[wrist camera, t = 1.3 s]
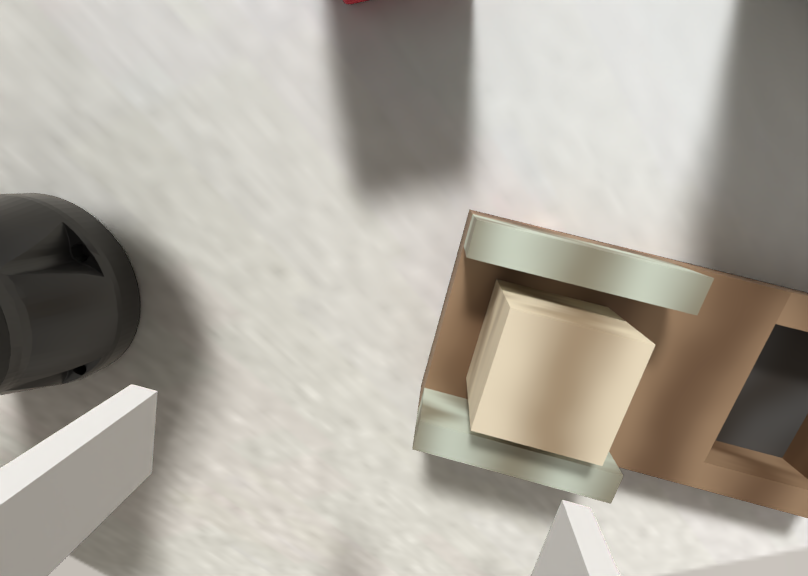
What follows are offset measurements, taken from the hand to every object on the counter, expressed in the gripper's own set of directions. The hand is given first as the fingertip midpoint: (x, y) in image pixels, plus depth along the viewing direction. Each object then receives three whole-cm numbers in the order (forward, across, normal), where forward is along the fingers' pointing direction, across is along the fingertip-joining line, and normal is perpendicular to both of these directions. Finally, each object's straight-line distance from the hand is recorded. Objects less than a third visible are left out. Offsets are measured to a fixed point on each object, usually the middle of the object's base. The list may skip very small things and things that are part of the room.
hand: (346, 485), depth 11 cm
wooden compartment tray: (+20, +17, 0) cm, 26 cm away
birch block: (+16, +9, 0) cm, 18 cm away
